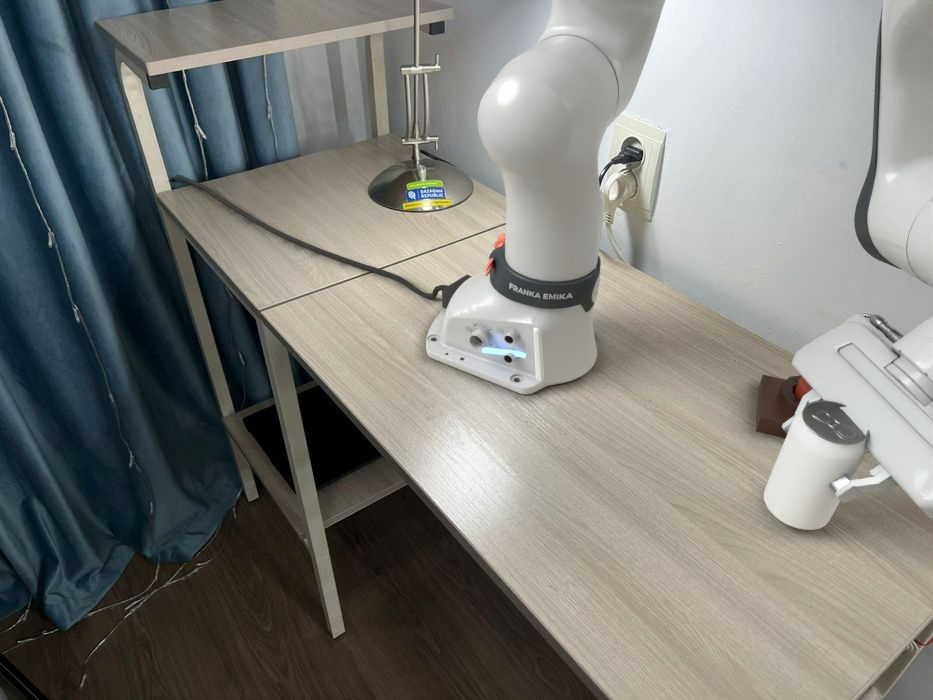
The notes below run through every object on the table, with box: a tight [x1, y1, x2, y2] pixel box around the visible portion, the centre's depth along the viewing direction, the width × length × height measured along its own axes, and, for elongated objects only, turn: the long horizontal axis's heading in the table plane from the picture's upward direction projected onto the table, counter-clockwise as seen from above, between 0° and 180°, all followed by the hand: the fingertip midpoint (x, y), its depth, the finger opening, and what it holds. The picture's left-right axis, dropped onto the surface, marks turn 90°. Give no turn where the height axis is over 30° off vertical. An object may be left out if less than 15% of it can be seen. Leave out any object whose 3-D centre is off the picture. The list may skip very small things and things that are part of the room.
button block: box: [755, 374, 802, 439], centre depth 80 cm, size 10×8×4 cm
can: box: [763, 400, 869, 531], centre depth 66 cm, size 6×6×12 cm
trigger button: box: [795, 377, 813, 401], centre depth 78 cm, size 4×4×2 cm
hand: (810, 463), depth 66 cm, fingers closed on can, 6 cm apart
